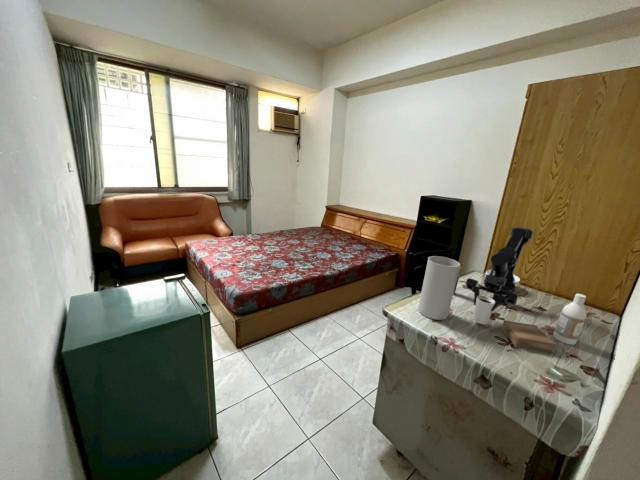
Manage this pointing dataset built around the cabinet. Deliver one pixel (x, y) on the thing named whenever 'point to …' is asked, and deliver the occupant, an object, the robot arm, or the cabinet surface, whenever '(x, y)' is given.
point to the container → (457, 280)
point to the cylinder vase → (438, 287)
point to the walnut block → (528, 336)
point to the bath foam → (571, 321)
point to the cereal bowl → (517, 279)
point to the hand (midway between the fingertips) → (482, 307)
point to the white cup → (483, 309)
